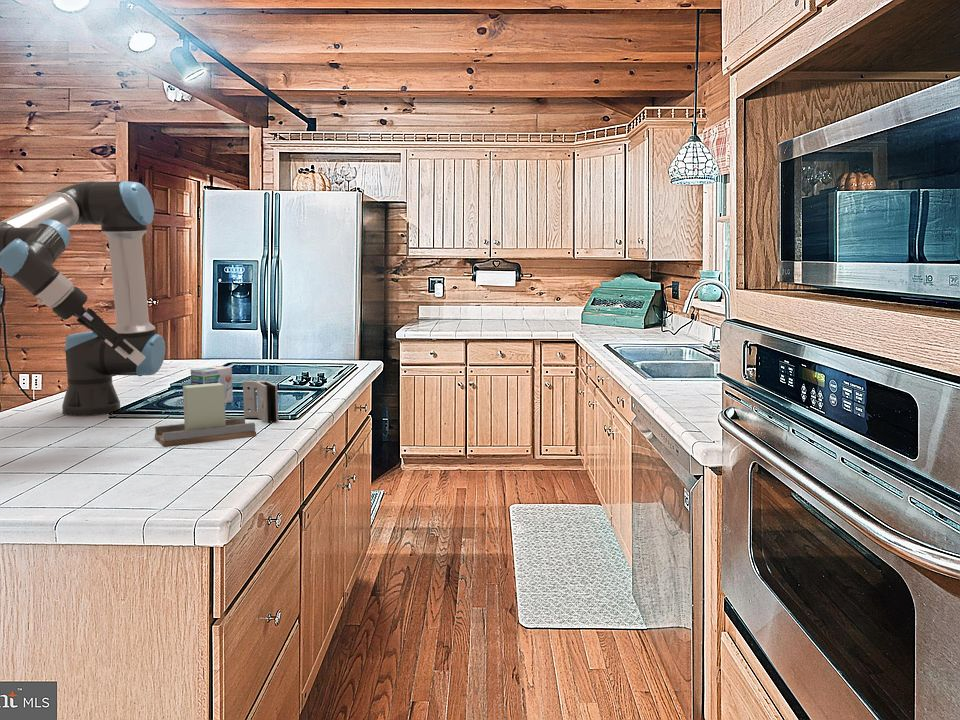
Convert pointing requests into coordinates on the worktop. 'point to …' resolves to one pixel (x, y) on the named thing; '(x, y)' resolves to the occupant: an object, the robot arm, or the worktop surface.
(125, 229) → the robot arm
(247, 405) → the hinge
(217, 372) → the light bulb box
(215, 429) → the track
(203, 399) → the door panel
